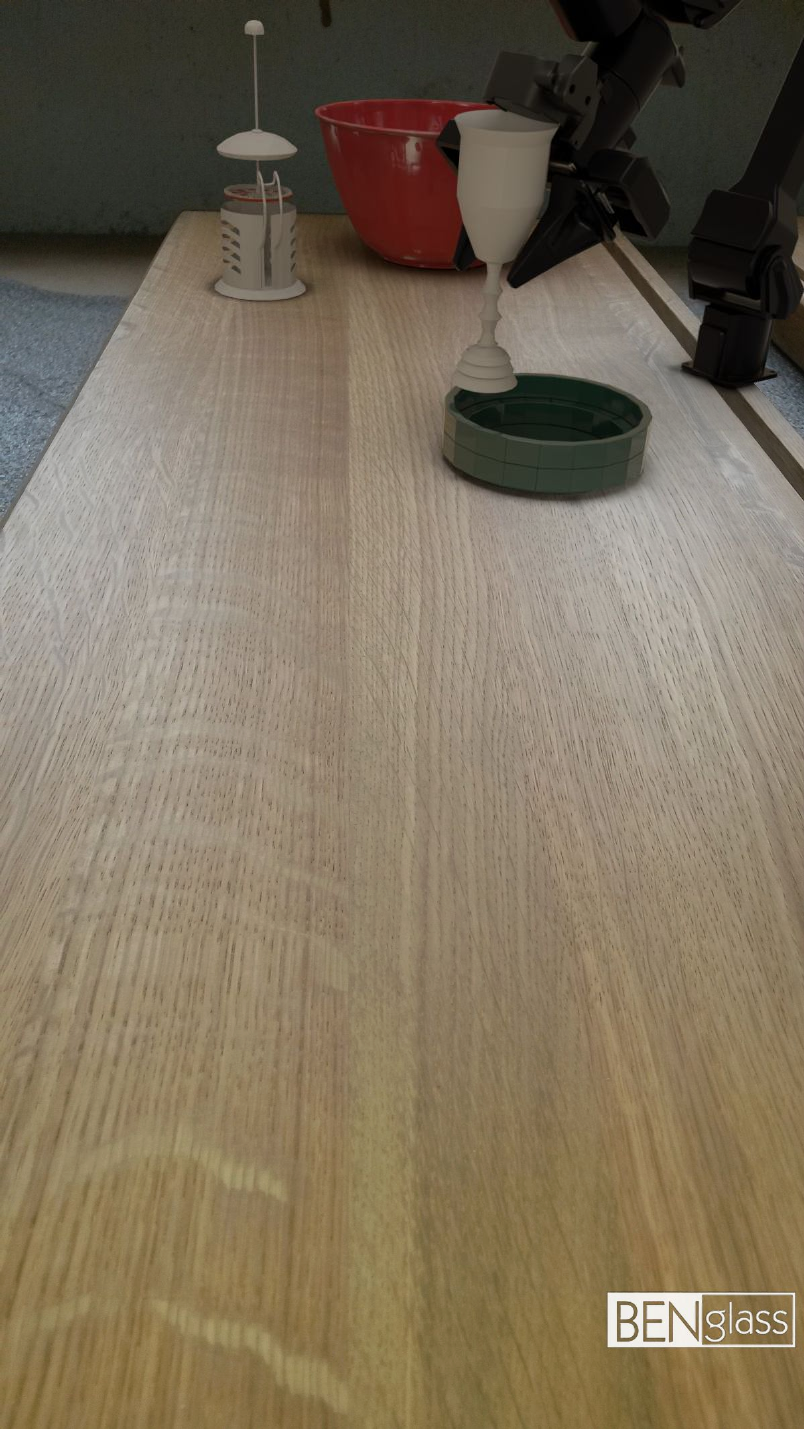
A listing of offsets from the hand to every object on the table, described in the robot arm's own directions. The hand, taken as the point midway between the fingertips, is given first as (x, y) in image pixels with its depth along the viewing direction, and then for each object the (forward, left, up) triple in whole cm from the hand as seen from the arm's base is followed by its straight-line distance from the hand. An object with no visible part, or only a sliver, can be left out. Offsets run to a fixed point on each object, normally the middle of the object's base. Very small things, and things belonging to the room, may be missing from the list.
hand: (482, 275), depth 87 cm
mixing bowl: (-35, -51, -13) cm, 63 cm away
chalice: (-1, -1, -8) cm, 8 cm away
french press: (-9, -47, -13) cm, 50 cm away
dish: (-4, +4, -13) cm, 14 cm away
